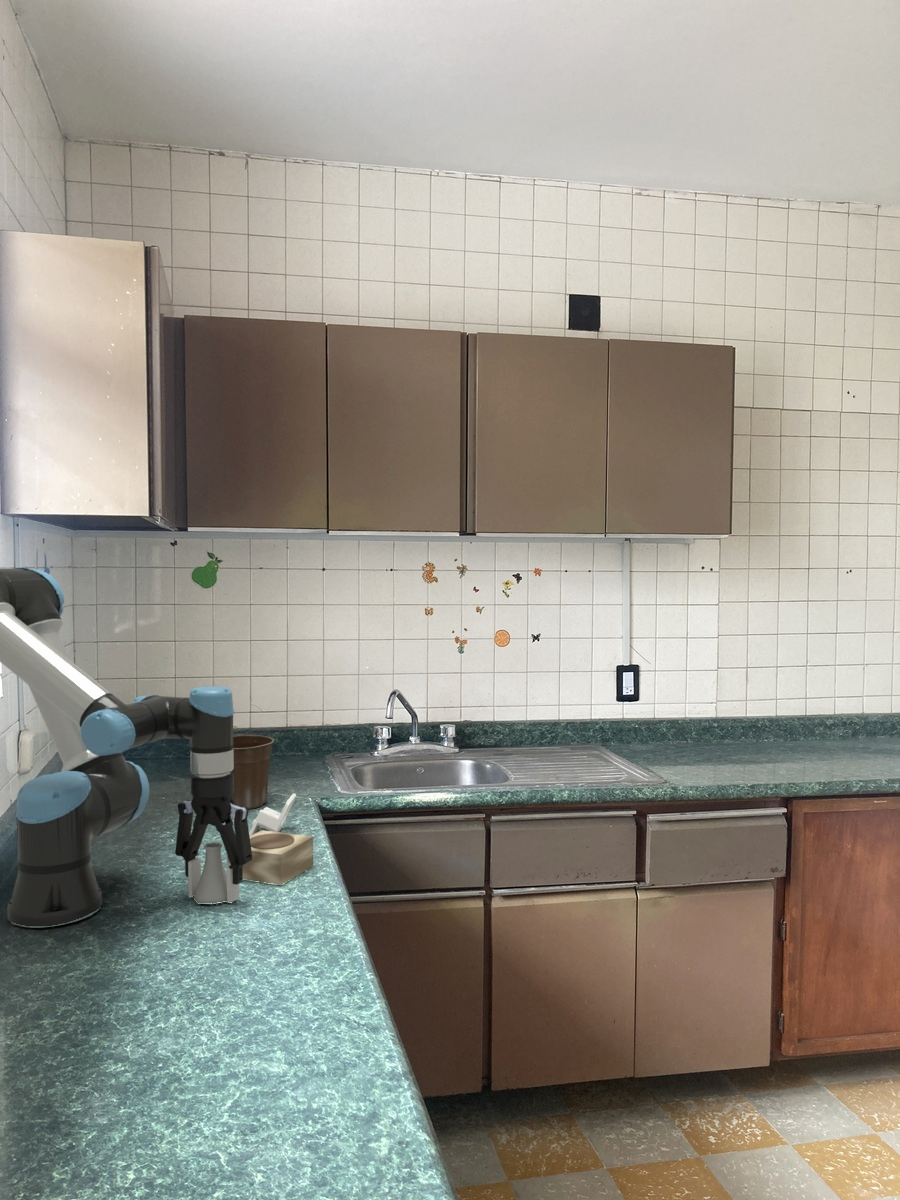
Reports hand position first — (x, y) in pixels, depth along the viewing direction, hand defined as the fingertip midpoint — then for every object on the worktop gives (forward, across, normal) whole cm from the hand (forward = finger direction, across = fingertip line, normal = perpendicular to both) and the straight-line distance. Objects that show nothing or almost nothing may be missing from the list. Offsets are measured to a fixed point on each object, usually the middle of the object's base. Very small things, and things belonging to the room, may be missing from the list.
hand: (214, 897), depth 162 cm
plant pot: (0, +32, -56) cm, 64 cm away
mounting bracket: (+1, +11, -36) cm, 38 cm away
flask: (0, 0, 0) cm, 0 cm away
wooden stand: (0, -2, -16) cm, 16 cm away
